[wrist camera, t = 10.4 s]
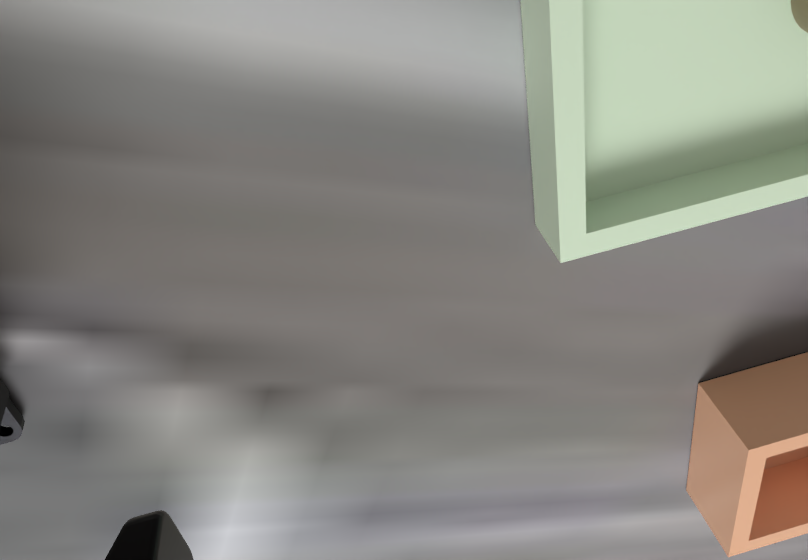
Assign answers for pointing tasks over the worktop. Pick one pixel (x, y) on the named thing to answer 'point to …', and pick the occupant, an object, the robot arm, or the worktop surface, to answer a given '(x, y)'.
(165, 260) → the worktop surface
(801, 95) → the sage tray
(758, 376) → the peach square box
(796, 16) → the dowel
